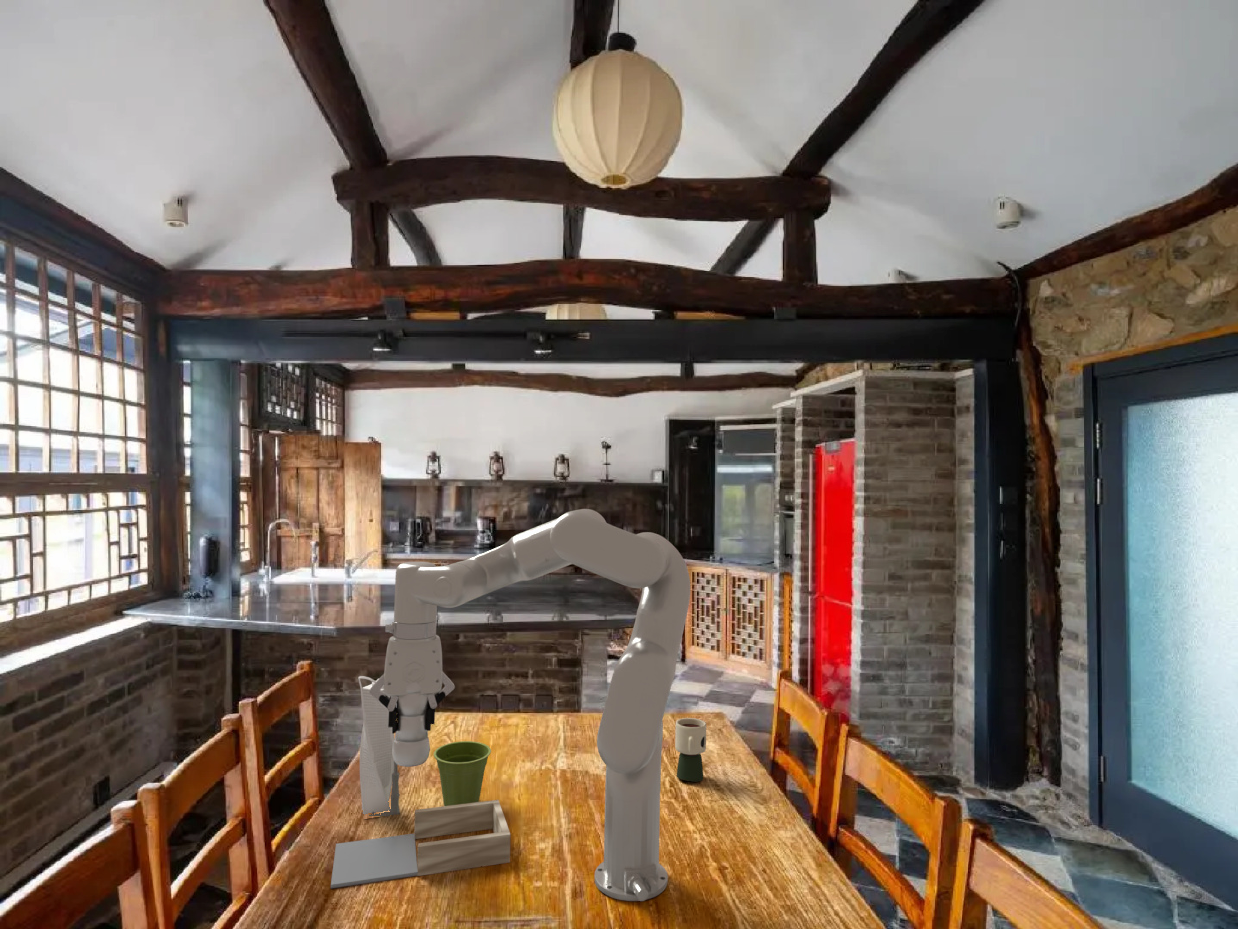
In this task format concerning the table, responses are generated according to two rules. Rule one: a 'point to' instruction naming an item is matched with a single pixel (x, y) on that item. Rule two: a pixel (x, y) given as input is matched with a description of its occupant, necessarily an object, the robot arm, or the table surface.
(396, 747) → the plastic bottle
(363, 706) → the skyscraper
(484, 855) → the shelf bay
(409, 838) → the tile
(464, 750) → the plant pot
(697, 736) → the character mug
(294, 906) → the table surface
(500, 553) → the robot arm
